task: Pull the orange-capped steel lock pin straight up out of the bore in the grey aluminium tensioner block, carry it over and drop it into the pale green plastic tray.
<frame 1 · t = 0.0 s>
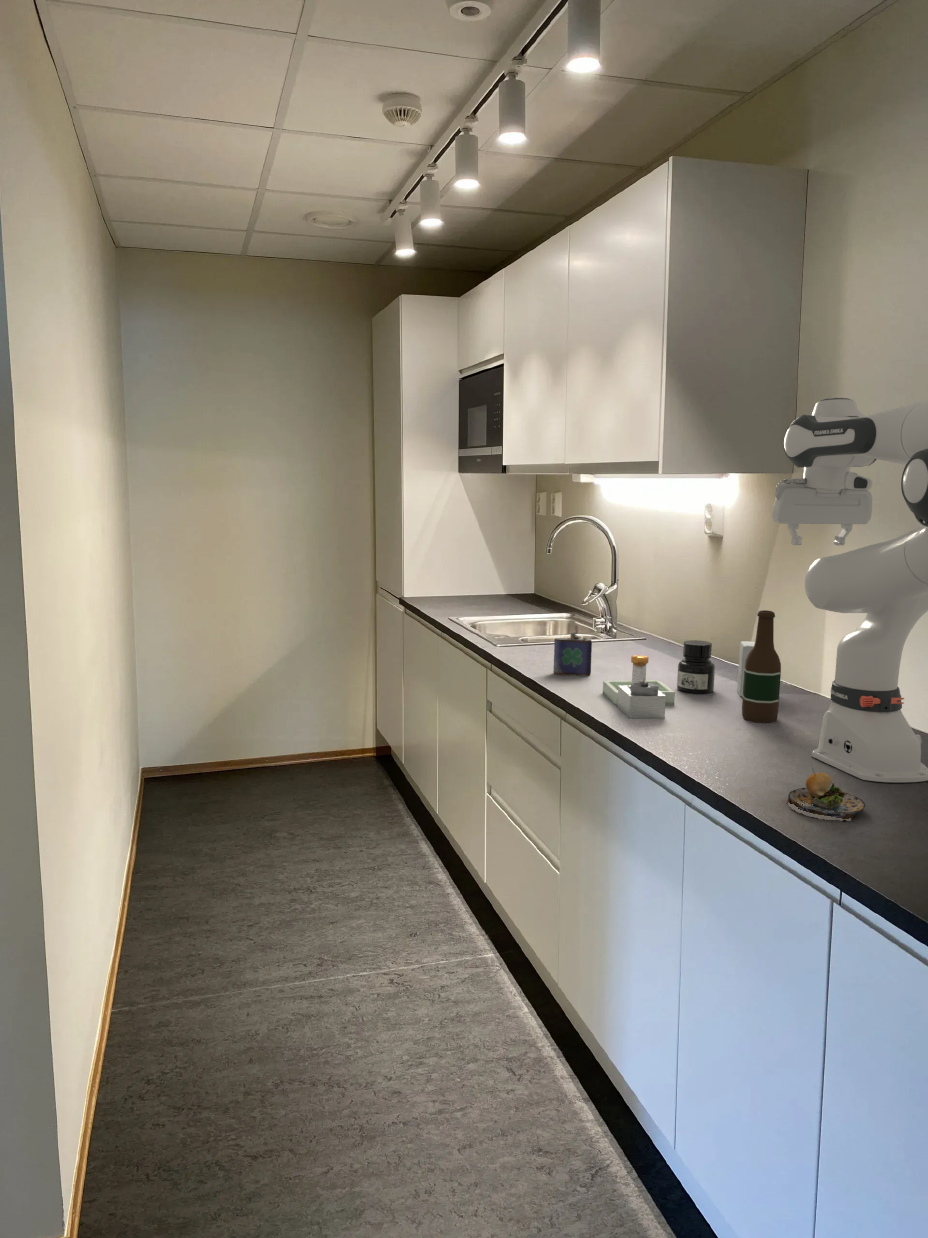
hand: (817, 544, 195), 39 cm above the worktop, tool pointing down, fingers open, 8 cm apart
lock pin: (637, 709, 212), resting in tensioner block
flask: (572, 675, 248), on the worktop
ink bottle: (695, 690, 232), on the worktop
supplement box: (753, 695, 228), on the worktop
burger: (825, 810, 151), on the worktop
beer bottle: (759, 719, 206), on the worktop
tensioner block: (640, 712, 209), on the worktop
tray: (637, 698, 222), on the worktop
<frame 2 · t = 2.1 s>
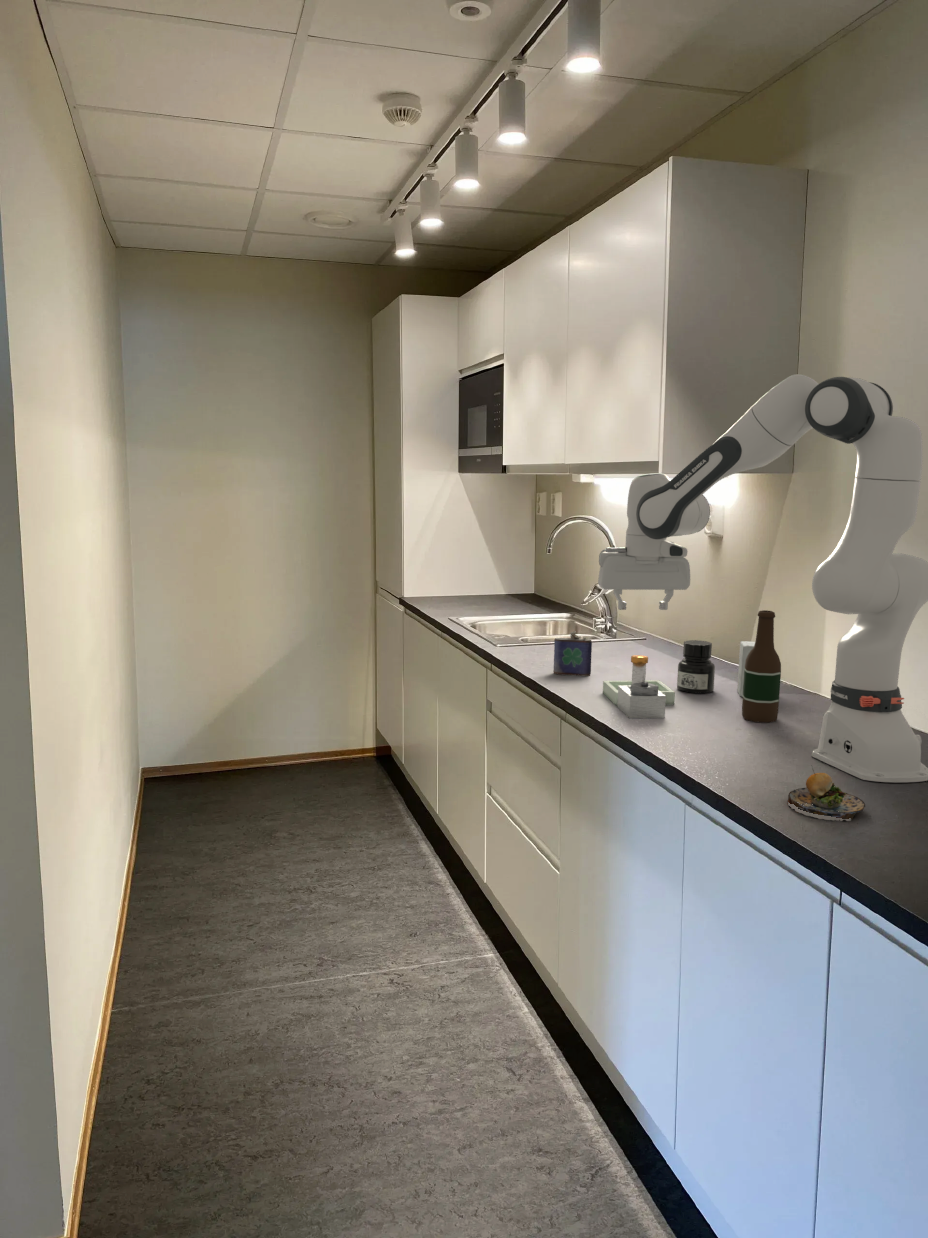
hand: (642, 609, 208), 23 cm above the worktop, tool pointing down, fingers open, 8 cm apart
nothing on the worktop moved.
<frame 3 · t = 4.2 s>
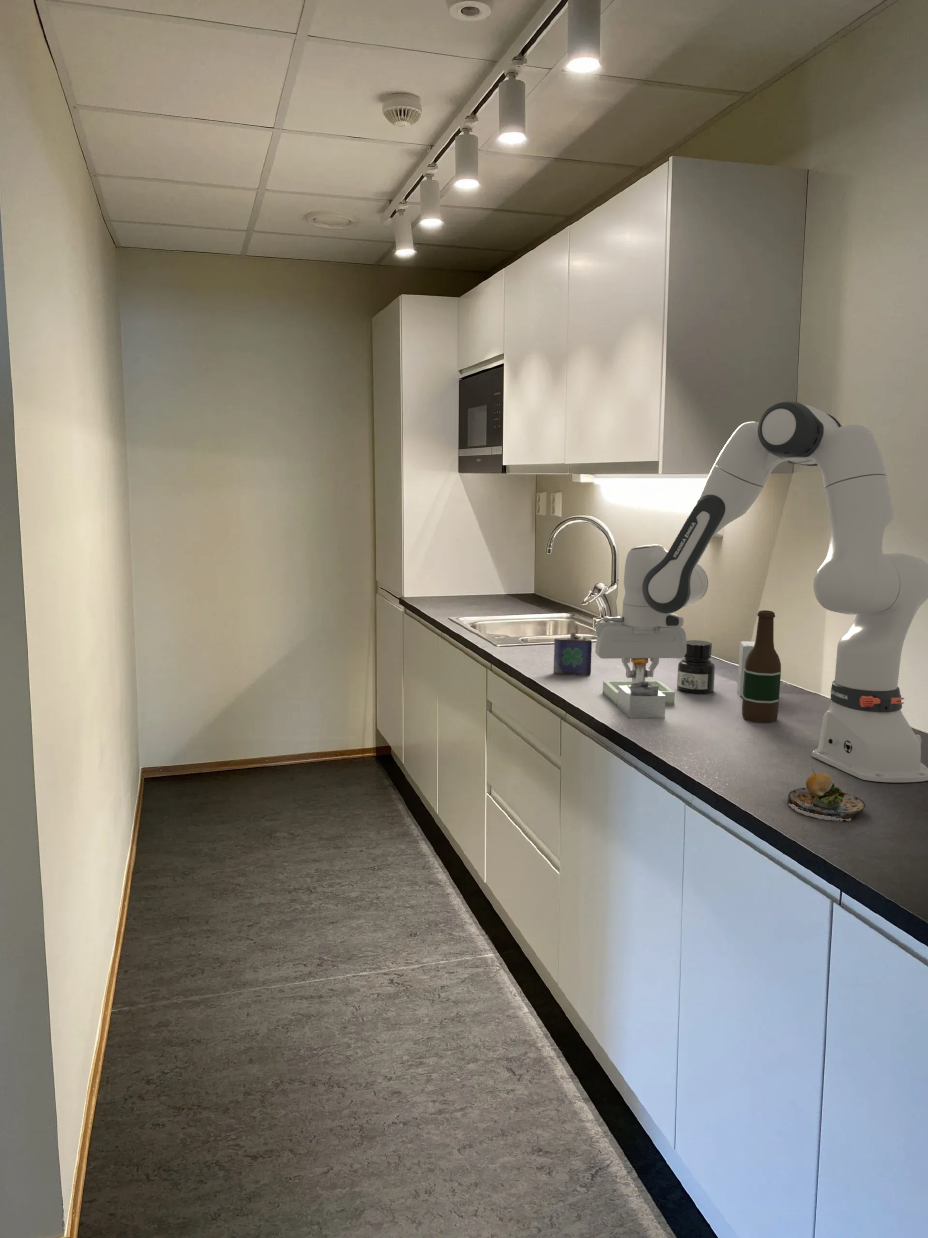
hand: (639, 677, 210), 8 cm above the worktop, tool pointing down, fingers closed on lock pin, 3 cm apart
lock pin: (637, 709, 212), resting in tensioner block, touching gripper
everything else where it was.
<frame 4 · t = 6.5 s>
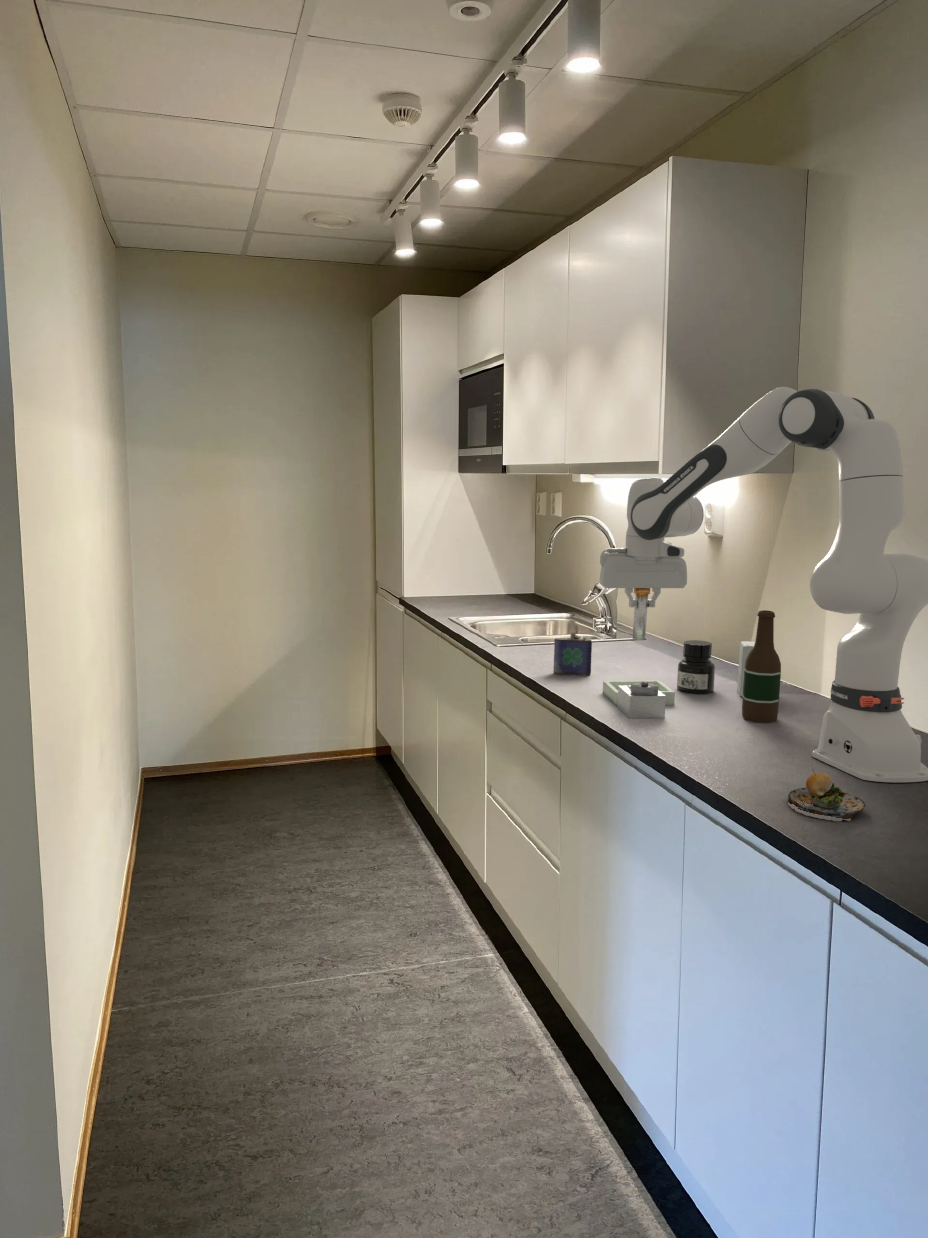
hand: (641, 607, 218), 22 cm above the worktop, tool pointing down, fingers closed on lock pin, 3 cm apart
lock pin: (638, 638, 221), point 14 cm above the worktop, touching gripper
everything else where it was.
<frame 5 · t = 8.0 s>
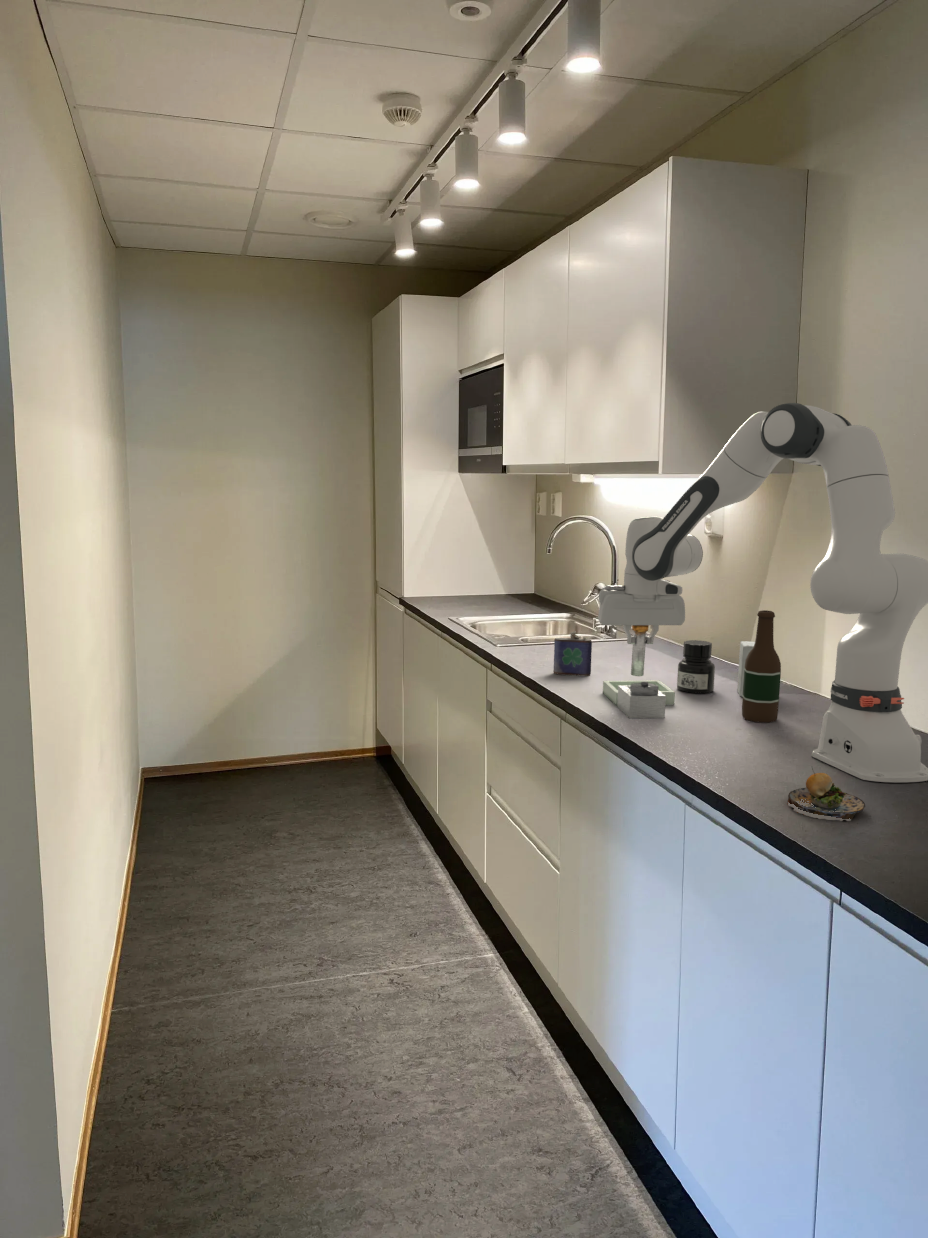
hand: (640, 643, 220), 13 cm above the worktop, tool pointing down, fingers closed on lock pin, 3 cm apart
lock pin: (637, 674, 222), point 6 cm above the worktop, touching gripper
everything else where it was.
when the fingers open (9 cm above the worktop, at t = 9.1 s): lock pin stays where it is, resting on tray.
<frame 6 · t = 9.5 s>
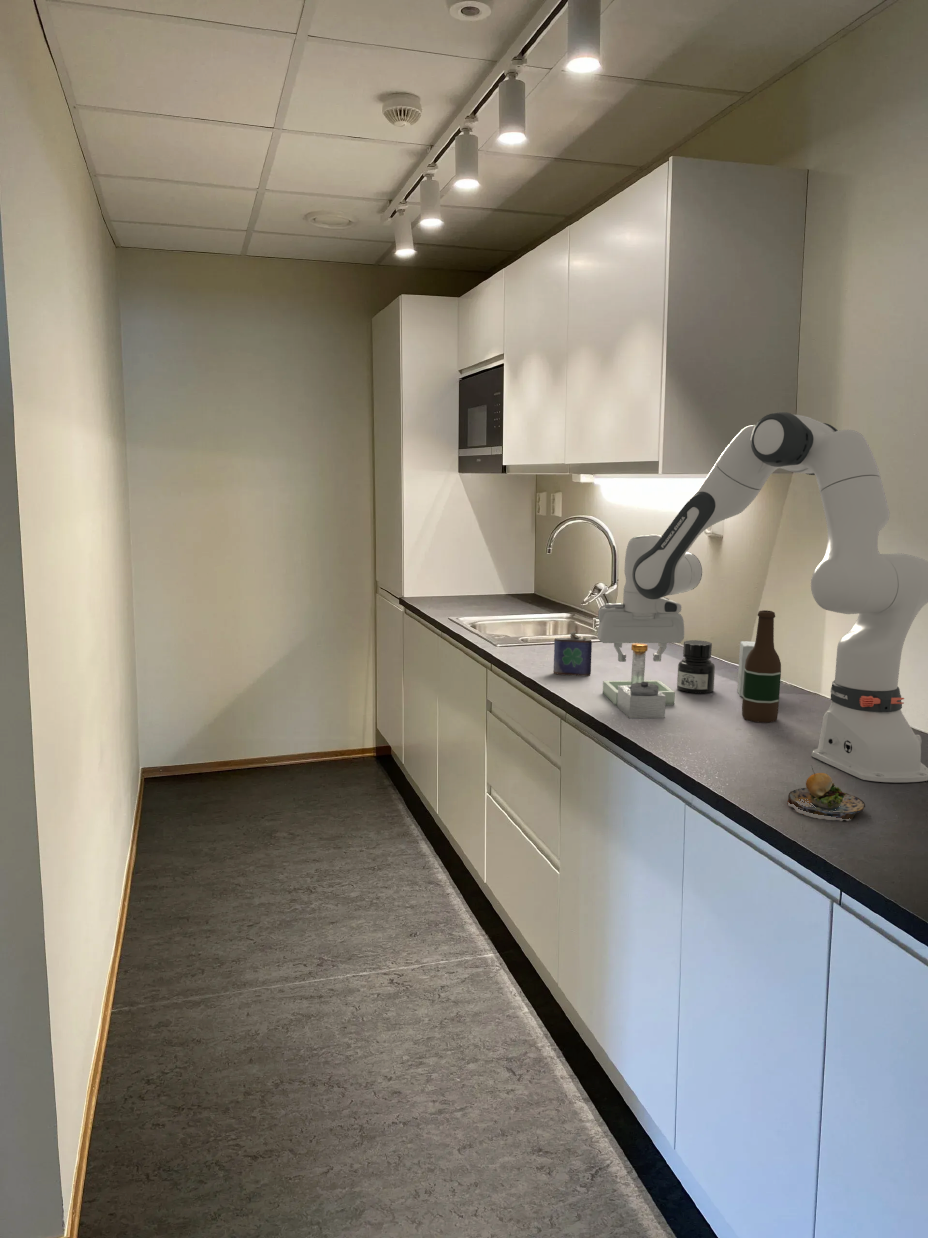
hand: (639, 661, 221), 9 cm above the worktop, tool pointing down, fingers open, 7 cm apart
lock pin: (636, 694, 223), point 1 cm above the worktop, touching tray
everything else where it was.
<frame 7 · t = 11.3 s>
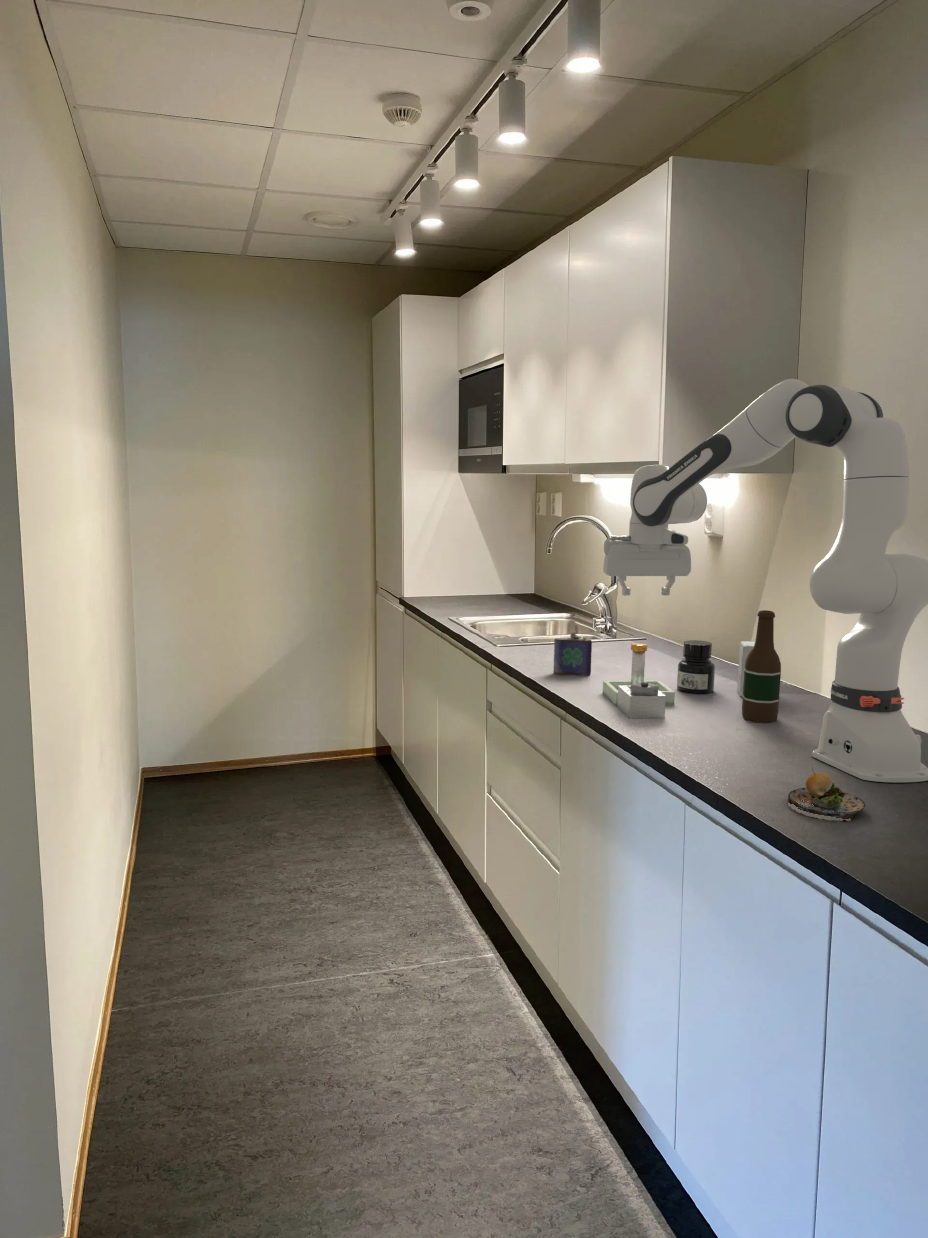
hand: (645, 595, 218), 25 cm above the worktop, tool pointing down, fingers open, 8 cm apart
nothing on the worktop moved.
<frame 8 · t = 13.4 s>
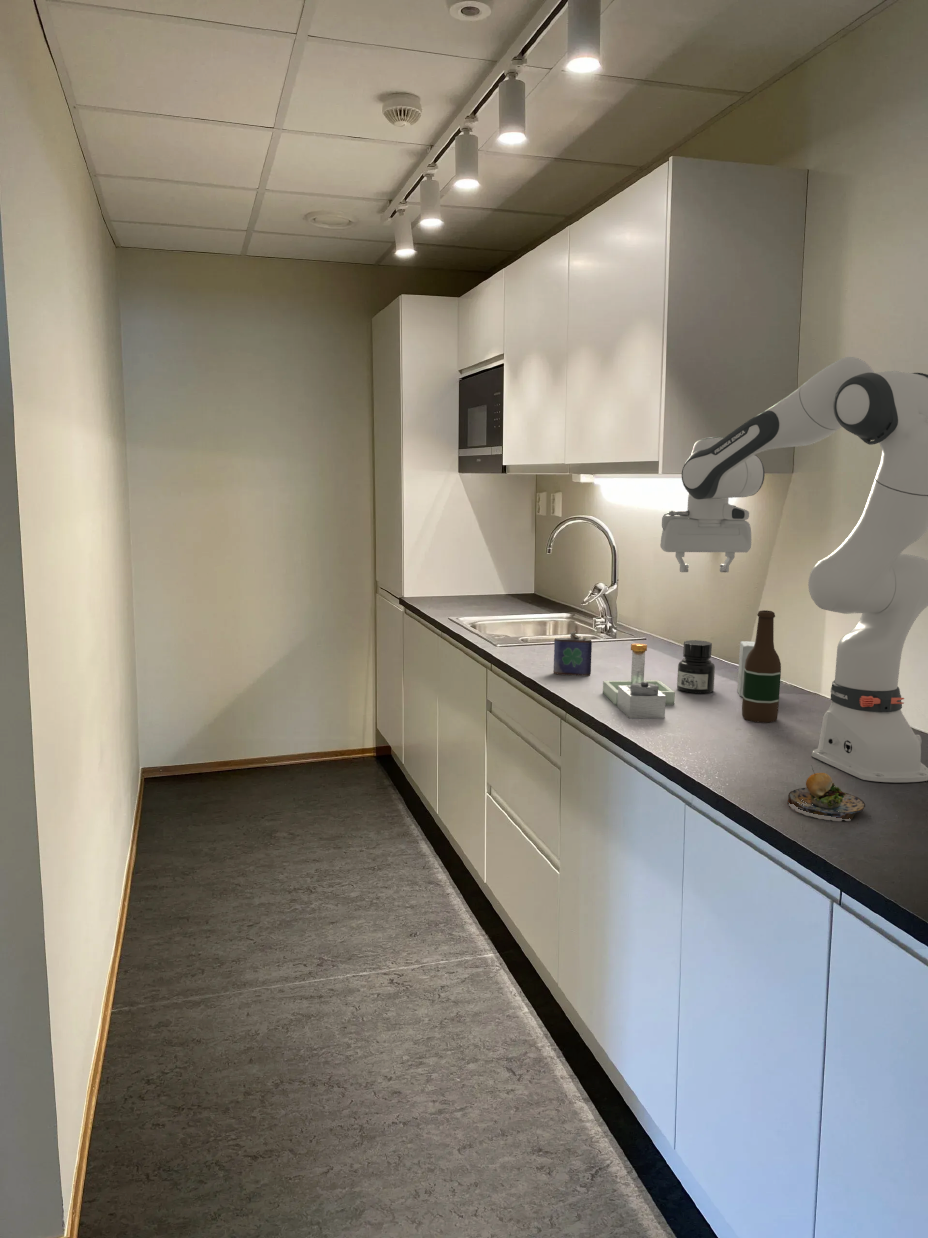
hand: (704, 572, 211), 31 cm above the worktop, tool pointing down, fingers open, 8 cm apart
nothing on the worktop moved.
at the end: lock pin inside the target area on the tray (1.0 cm from its centre), point 0.6 cm above the tray's base; the gripper is holding nothing; lock pin touching tray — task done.
